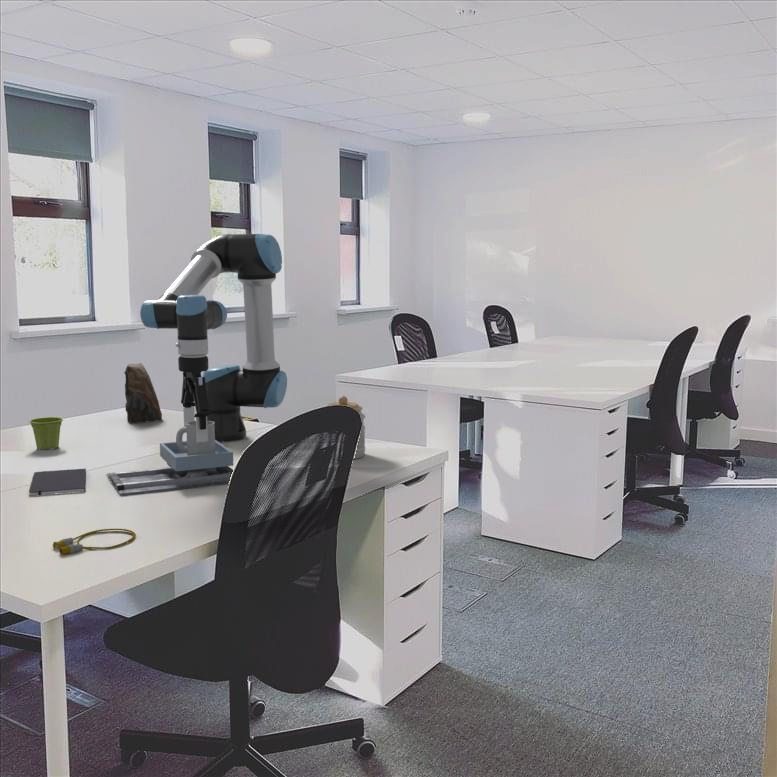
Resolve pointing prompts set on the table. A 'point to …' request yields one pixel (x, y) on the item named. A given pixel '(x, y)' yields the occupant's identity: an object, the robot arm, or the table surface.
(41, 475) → the notebook
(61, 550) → the extension cord
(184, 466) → the cart
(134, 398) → the brown rock
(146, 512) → the table surface
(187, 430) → the cup
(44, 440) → the plant pot
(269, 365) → the robot arm
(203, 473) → the track
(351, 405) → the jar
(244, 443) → the table surface
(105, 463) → the table surface
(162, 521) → the table surface
